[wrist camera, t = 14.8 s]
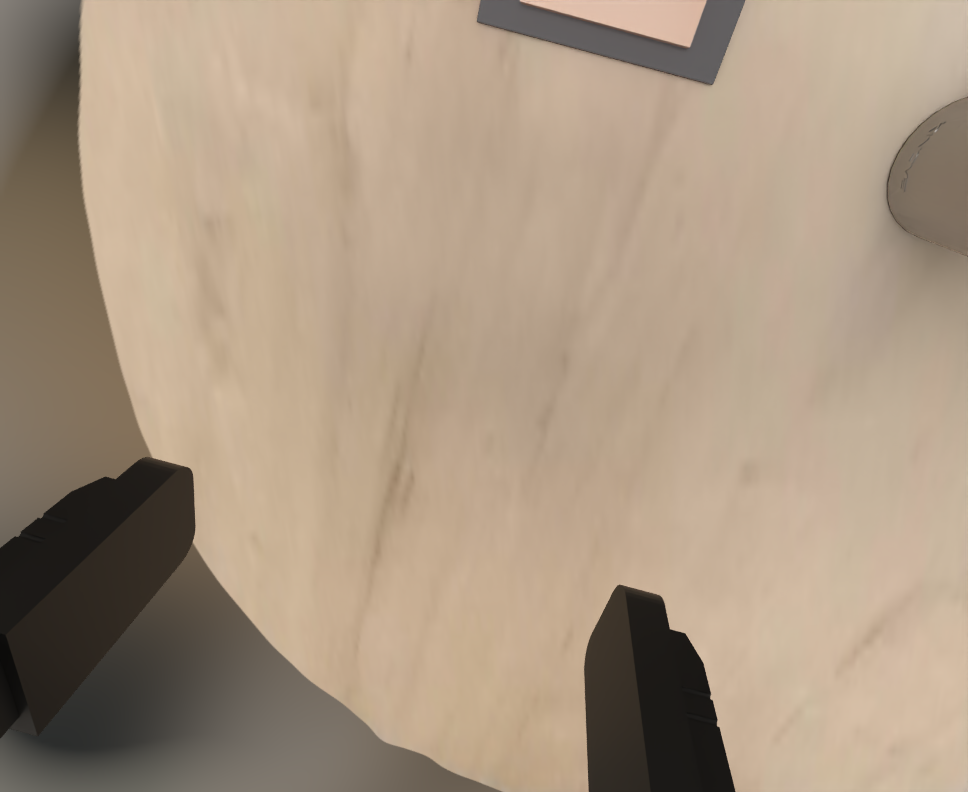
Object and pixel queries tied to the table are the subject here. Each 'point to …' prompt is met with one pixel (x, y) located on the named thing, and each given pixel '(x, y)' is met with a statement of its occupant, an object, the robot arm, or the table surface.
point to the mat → (625, 36)
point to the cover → (635, 16)
